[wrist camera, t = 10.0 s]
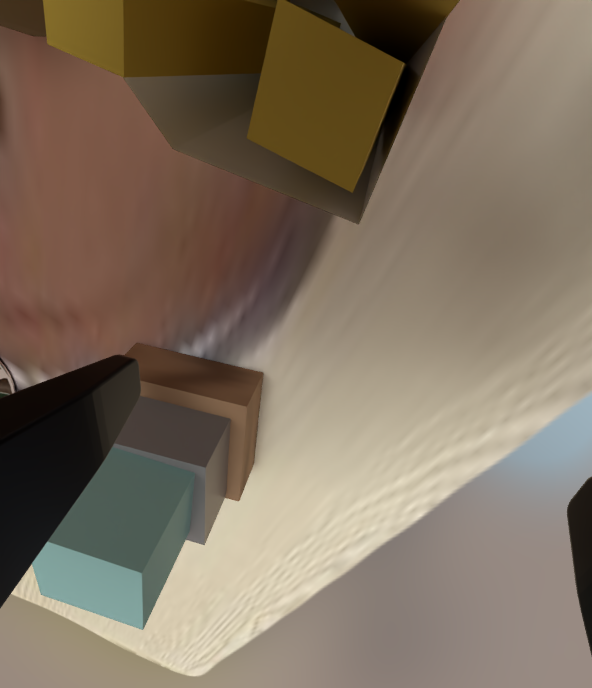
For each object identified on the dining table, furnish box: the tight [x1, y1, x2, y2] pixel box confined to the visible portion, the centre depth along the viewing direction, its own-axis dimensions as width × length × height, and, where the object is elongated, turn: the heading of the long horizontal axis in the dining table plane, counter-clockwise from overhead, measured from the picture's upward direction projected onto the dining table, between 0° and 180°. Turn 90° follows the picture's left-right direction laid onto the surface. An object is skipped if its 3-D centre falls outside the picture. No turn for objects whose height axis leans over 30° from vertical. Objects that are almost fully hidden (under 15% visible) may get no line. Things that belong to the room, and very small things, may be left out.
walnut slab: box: [124, 343, 263, 501], centre depth 26 cm, size 8×8×4 cm
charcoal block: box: [113, 396, 231, 545], centre depth 24 cm, size 6×6×4 cm
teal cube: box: [32, 447, 195, 630], centre depth 20 cm, size 5×5×5 cm
